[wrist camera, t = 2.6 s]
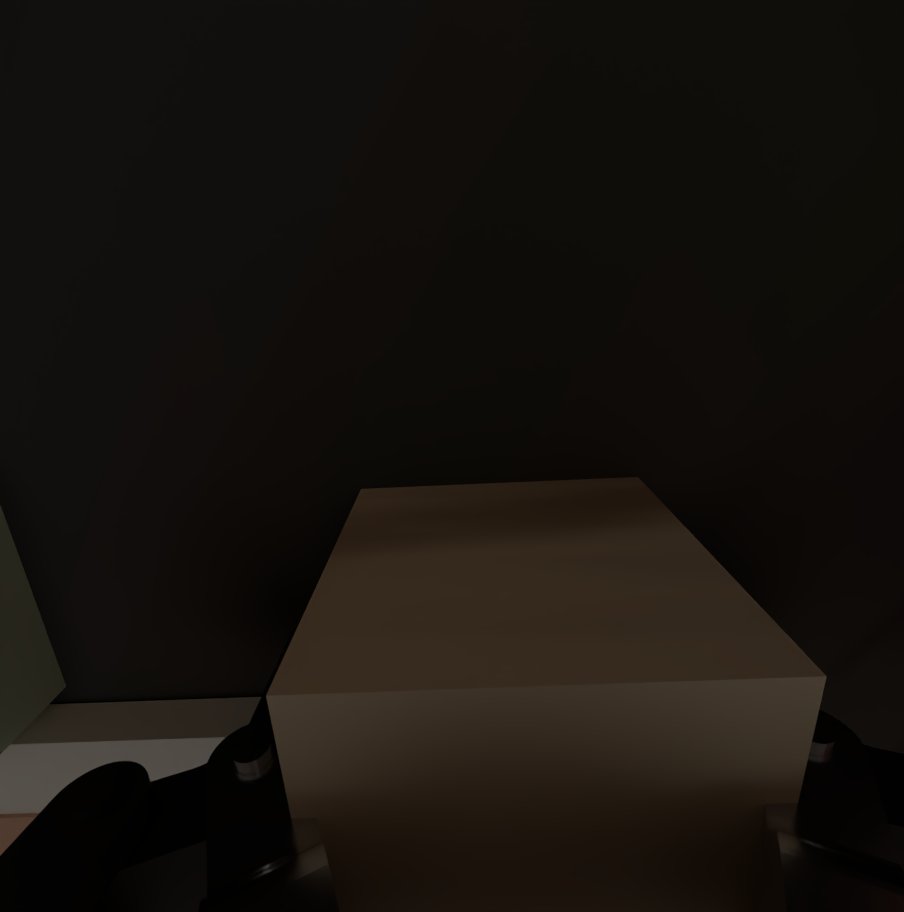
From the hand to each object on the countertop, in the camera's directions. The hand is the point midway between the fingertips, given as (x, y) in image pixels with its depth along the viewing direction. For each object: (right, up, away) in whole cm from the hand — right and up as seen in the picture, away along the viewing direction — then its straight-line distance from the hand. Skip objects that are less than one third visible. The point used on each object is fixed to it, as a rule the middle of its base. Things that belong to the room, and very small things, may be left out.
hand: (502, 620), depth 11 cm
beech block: (0, 0, +1) cm, 1 cm away
